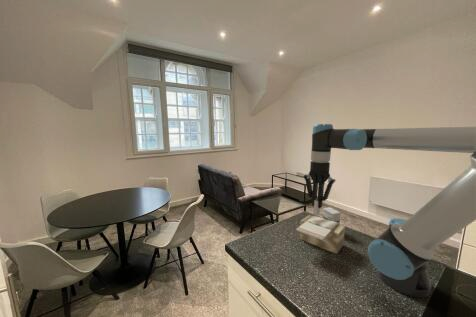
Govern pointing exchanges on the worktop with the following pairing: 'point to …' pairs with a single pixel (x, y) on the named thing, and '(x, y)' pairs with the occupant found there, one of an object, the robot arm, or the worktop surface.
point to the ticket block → (334, 237)
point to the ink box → (331, 214)
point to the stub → (314, 230)
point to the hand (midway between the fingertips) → (316, 213)
